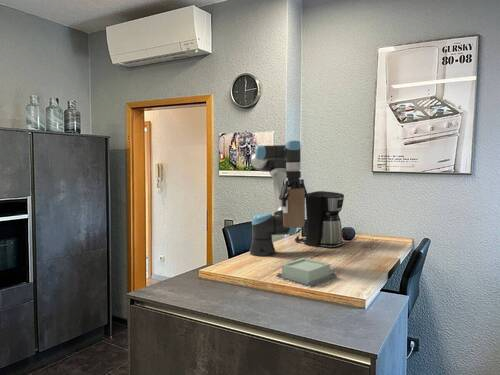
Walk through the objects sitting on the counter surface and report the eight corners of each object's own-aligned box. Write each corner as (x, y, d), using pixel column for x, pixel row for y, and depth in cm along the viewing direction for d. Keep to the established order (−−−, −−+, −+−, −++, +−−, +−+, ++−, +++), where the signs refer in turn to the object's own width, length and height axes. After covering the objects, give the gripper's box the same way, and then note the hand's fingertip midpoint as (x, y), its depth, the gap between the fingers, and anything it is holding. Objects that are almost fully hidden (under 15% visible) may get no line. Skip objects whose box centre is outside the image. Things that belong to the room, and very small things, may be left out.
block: (302, 228, 199) (301, 189, 198) (283, 227, 202) (282, 189, 200) (305, 224, 209) (304, 187, 207) (286, 224, 212) (286, 187, 210)
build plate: (276, 277, 185) (275, 264, 185) (303, 268, 199) (302, 256, 199) (309, 287, 171) (309, 273, 170) (336, 276, 184) (336, 263, 184)
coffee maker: (343, 249, 238) (343, 194, 235) (290, 247, 246) (290, 193, 244) (344, 241, 260) (344, 190, 257) (296, 239, 268) (295, 190, 266)
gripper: (282, 171, 192) (283, 214, 194) (314, 169, 209) (314, 209, 211) (271, 171, 197) (272, 213, 199) (303, 169, 214) (303, 208, 216)
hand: (293, 211), depth 205 cm, fingers closed on block, 13 cm apart
